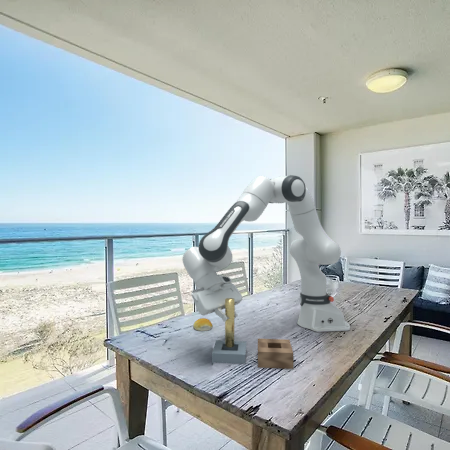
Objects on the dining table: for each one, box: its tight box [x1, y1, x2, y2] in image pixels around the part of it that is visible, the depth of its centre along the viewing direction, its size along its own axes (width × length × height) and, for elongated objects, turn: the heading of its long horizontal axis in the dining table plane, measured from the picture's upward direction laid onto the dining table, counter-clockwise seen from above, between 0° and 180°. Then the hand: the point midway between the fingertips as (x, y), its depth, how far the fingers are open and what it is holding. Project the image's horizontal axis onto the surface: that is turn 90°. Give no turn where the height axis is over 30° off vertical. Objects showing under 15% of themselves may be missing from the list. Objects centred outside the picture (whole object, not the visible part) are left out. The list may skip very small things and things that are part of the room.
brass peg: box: [224, 298, 236, 347], centre depth 108 cm, size 3×3×16 cm
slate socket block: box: [211, 340, 247, 366], centre depth 108 cm, size 11×11×4 cm
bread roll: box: [192, 317, 213, 332], centre depth 139 cm, size 8×9×4 cm
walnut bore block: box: [257, 337, 294, 370], centre depth 104 cm, size 11×11×6 cm
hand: (231, 318), depth 107 cm, fingers closed on brass peg, 3 cm apart
